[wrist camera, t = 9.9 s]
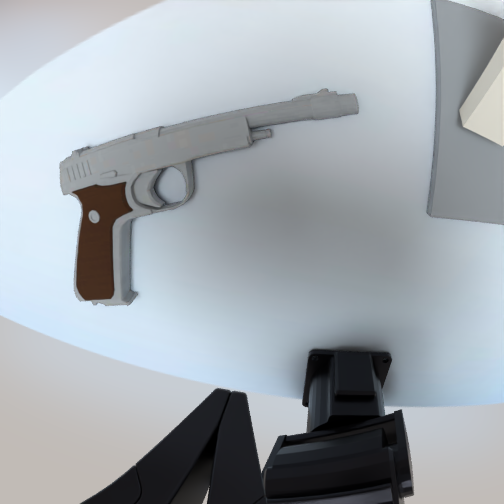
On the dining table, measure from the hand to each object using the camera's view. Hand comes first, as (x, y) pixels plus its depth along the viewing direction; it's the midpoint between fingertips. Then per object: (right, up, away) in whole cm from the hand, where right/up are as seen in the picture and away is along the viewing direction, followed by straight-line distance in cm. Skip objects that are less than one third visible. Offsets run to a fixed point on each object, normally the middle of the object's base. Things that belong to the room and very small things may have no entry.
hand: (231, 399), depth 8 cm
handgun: (-4, +7, +13) cm, 15 cm away
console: (+17, +12, +6) cm, 22 cm away
